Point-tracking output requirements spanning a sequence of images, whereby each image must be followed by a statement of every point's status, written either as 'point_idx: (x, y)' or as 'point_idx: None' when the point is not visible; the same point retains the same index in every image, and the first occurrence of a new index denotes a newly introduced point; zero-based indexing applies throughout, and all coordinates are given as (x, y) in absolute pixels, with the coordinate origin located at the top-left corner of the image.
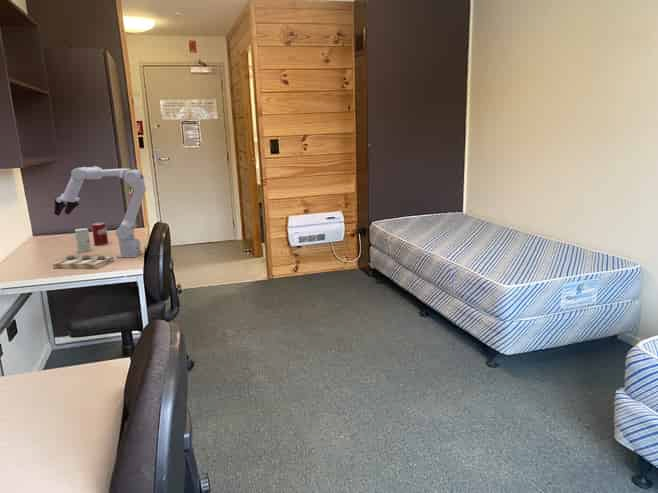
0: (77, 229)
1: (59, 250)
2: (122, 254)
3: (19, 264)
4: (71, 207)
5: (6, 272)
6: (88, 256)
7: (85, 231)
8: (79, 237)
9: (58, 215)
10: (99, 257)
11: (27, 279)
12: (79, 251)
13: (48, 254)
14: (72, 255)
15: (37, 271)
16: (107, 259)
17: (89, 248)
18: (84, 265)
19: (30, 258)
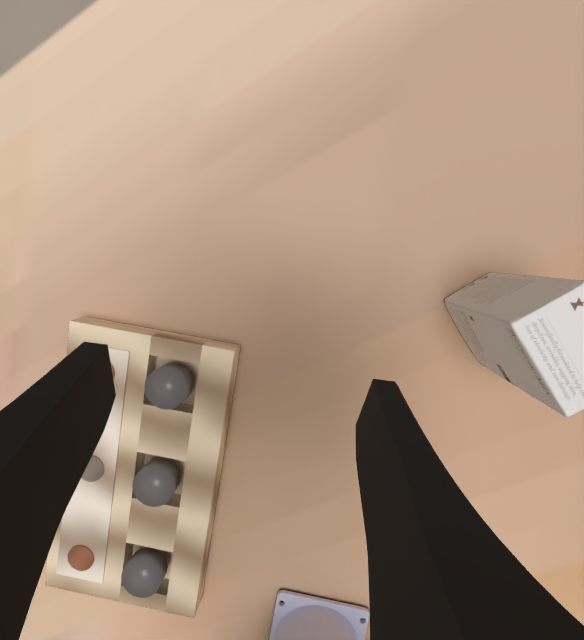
0: (569, 314)
1: (559, 101)
2: (277, 633)
3: (193, 29)
4: (379, 574)
5: (22, 66)
6: (150, 505)
7: (543, 390)
8: (491, 331)
9: (112, 396)
10: (121, 579)
11: None
12: (447, 304)
13: (442, 82)
14: (185, 391)
15: (35, 254)
16: (138, 604)
17: (482, 362)
18: None
19: (344, 7)
